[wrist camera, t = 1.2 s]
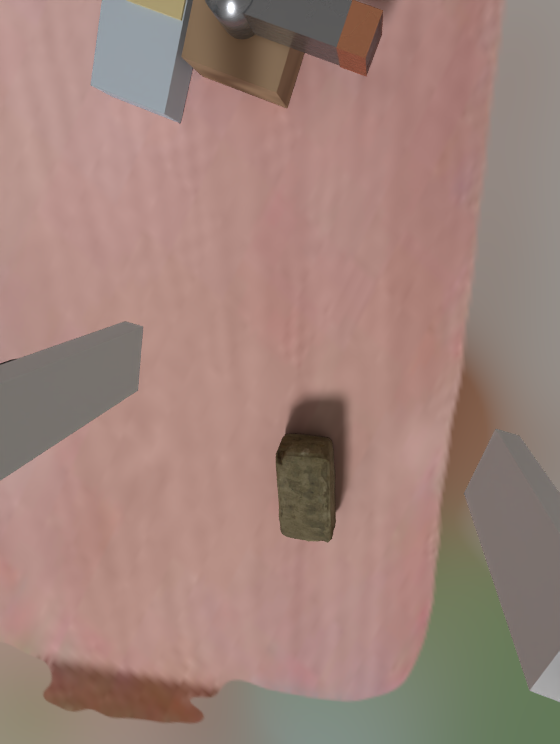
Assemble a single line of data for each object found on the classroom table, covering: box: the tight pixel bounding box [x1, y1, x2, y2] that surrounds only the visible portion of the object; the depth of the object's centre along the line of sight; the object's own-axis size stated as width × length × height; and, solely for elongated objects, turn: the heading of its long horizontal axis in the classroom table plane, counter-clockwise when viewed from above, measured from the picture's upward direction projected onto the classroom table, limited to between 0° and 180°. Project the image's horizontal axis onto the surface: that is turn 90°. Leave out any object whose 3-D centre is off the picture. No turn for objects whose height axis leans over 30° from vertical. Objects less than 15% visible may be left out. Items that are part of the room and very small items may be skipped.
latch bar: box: [205, 0, 383, 76], centre depth 26 cm, size 12×4×4 cm, turn 70°
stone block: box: [276, 434, 336, 543], centre depth 42 cm, size 6×12×5 cm, turn 5°
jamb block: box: [181, 0, 304, 108], centre depth 30 cm, size 8×8×4 cm
